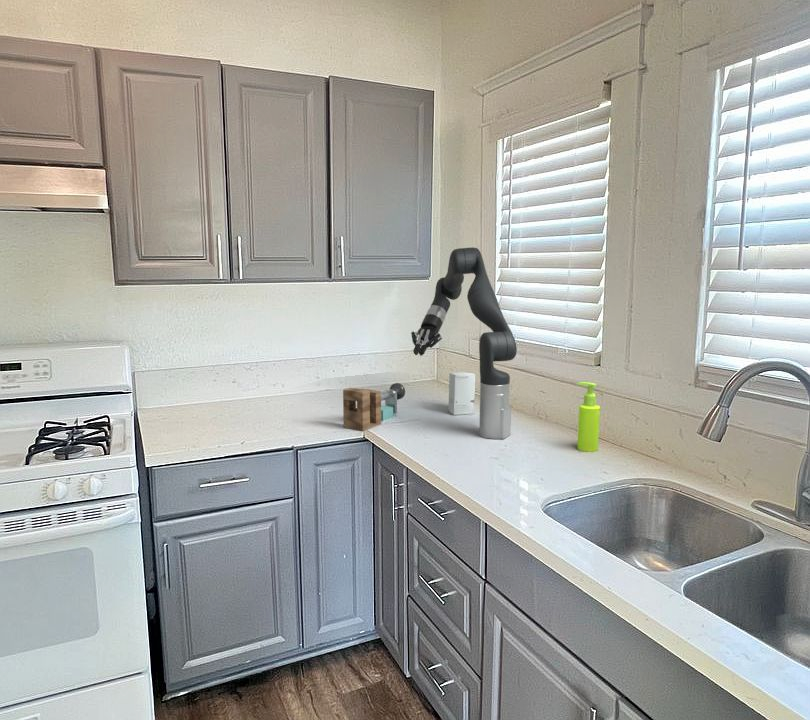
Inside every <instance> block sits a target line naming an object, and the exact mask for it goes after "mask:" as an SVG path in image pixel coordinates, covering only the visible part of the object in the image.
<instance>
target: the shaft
mask: <svg viewBox="0 0 810 720" xmlns="http://www.w3.org/2000/svg"><path fill="white" fill-rule="evenodd" d="M405 395H406V390H405V386H404V385H403V384H402V383H400V382H395V383H392V384H391V385H390V387H389V388H388V389H385V390H383V391H381V402H383V401H384V406H389V407H393V415H396V414H398V401H399V400H401V399H403V398H404V397H405ZM370 405H371V397H370Z"/></svg>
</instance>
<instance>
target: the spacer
mask: <svg viewBox="0 0 810 720" xmlns="http://www.w3.org/2000/svg"><path fill="white" fill-rule="evenodd" d="M390 418H391V419H393V418H394V414H393V407H389V406H385V405H382V404H381V422H385V421H387V419H388V420H391V419H390ZM384 420H385V421H384Z"/></svg>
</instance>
